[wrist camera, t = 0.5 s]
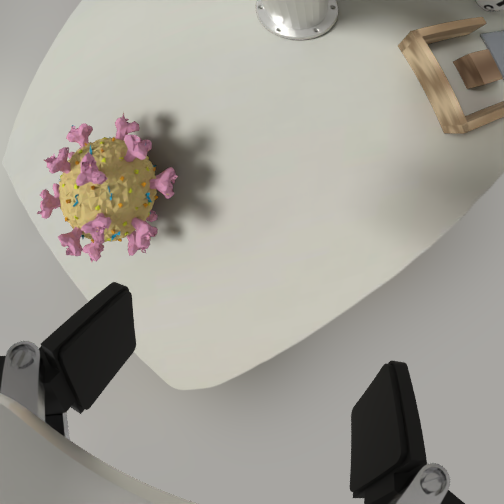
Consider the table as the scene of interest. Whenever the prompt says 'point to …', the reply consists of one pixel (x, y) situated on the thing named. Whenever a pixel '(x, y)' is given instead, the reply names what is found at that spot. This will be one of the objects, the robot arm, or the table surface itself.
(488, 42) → the mat
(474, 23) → the oak u-shaped frame
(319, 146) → the table surface
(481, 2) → the cup
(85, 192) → the educational model
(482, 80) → the block
